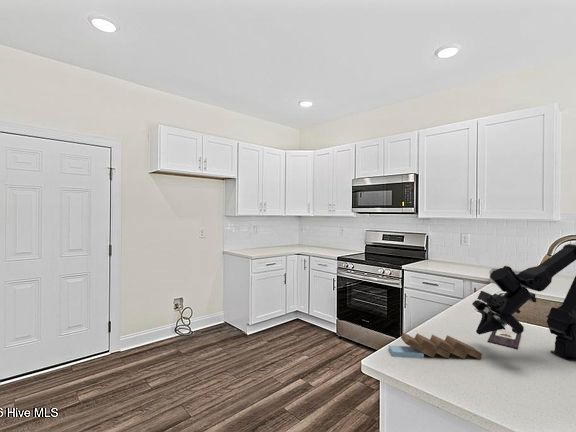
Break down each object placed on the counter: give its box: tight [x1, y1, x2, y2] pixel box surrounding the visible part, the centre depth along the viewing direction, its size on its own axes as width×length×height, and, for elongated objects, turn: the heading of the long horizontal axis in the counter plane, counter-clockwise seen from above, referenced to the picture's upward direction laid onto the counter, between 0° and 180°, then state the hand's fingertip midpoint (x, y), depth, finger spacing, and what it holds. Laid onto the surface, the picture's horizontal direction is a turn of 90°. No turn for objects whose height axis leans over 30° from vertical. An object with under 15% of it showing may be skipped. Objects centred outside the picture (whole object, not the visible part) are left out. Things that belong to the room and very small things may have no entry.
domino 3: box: [414, 332, 452, 359], centre depth 104 cm, size 2×5×10 cm
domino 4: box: [429, 334, 468, 360], centre depth 104 cm, size 2×5×10 cm
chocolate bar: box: [487, 329, 522, 350], centre depth 120 cm, size 9×1×18 cm
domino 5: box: [444, 334, 483, 360], centre depth 104 cm, size 2×5×10 cm
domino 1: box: [388, 344, 425, 359], centre depth 104 cm, size 2×5×10 cm
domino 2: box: [400, 332, 437, 359], centre depth 104 cm, size 2×5×10 cm
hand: (477, 333), depth 104 cm, fingers closed
